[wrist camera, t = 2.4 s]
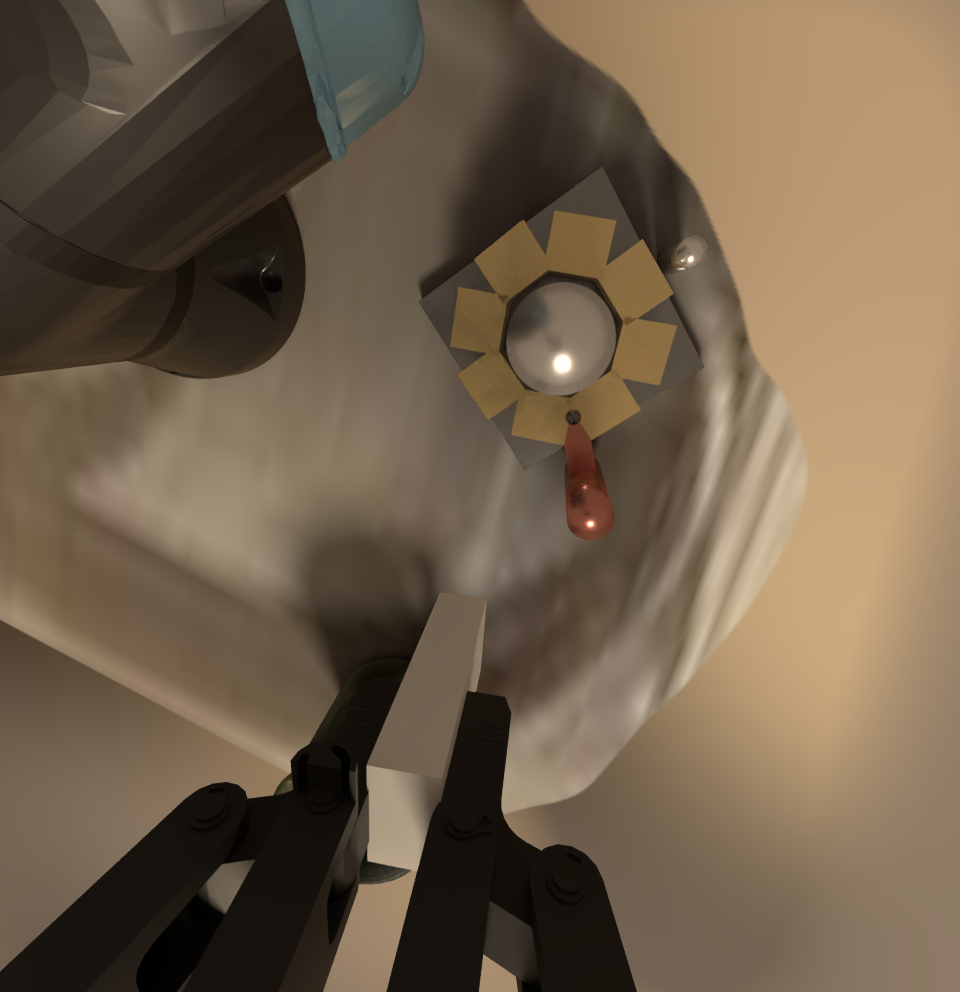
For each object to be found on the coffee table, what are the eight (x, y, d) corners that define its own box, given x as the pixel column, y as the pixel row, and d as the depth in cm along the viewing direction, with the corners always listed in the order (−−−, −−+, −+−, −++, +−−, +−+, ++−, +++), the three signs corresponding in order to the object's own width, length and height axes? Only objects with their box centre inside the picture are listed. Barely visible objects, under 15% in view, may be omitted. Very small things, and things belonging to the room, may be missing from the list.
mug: (317, 701, 46) (241, 824, 35) (407, 601, 41) (352, 708, 30) (410, 768, 47) (365, 908, 36) (509, 679, 42) (492, 810, 31)
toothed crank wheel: (440, 253, 31) (400, 232, 23) (650, 195, 28) (687, 148, 20) (497, 502, 35) (480, 556, 28) (680, 472, 33) (719, 521, 25)
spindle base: (422, 302, 33) (369, 297, 24) (629, 150, 29) (664, 71, 19) (525, 465, 36) (514, 518, 27) (727, 349, 31) (800, 365, 22)
